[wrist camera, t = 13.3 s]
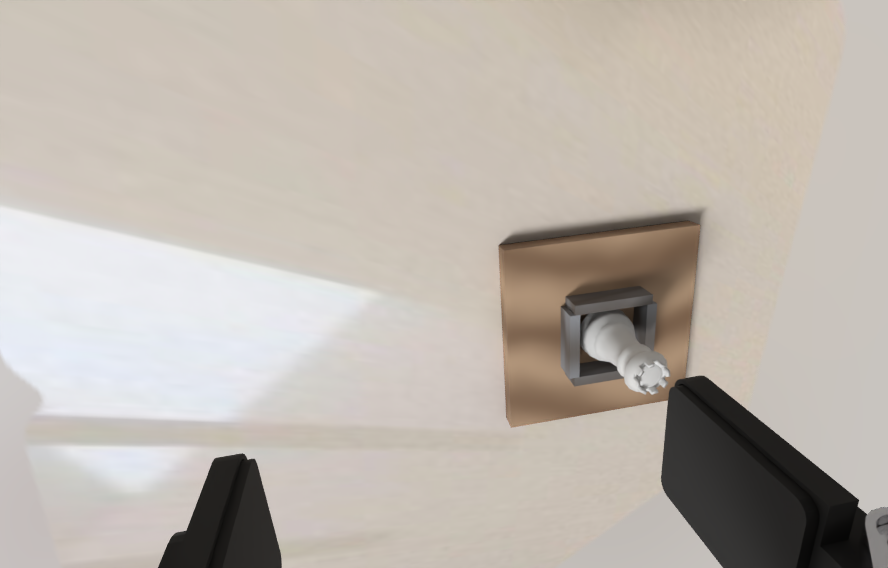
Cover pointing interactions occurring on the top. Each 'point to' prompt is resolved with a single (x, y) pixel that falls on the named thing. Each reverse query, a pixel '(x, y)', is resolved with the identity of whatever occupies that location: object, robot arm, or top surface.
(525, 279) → the jig board
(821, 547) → the robot arm
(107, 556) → the top surface
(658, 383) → the rook chess piece
